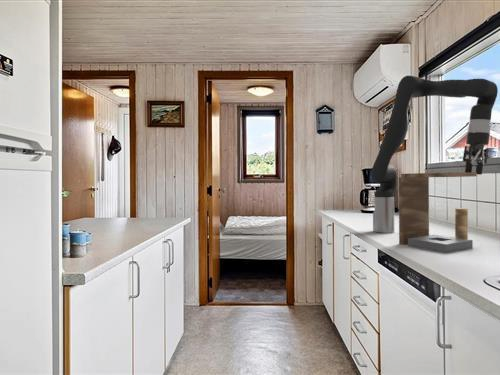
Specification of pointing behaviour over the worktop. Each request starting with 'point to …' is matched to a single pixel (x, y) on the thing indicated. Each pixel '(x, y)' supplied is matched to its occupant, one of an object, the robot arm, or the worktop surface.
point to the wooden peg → (461, 223)
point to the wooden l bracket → (417, 203)
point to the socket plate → (440, 243)
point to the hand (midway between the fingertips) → (473, 173)
